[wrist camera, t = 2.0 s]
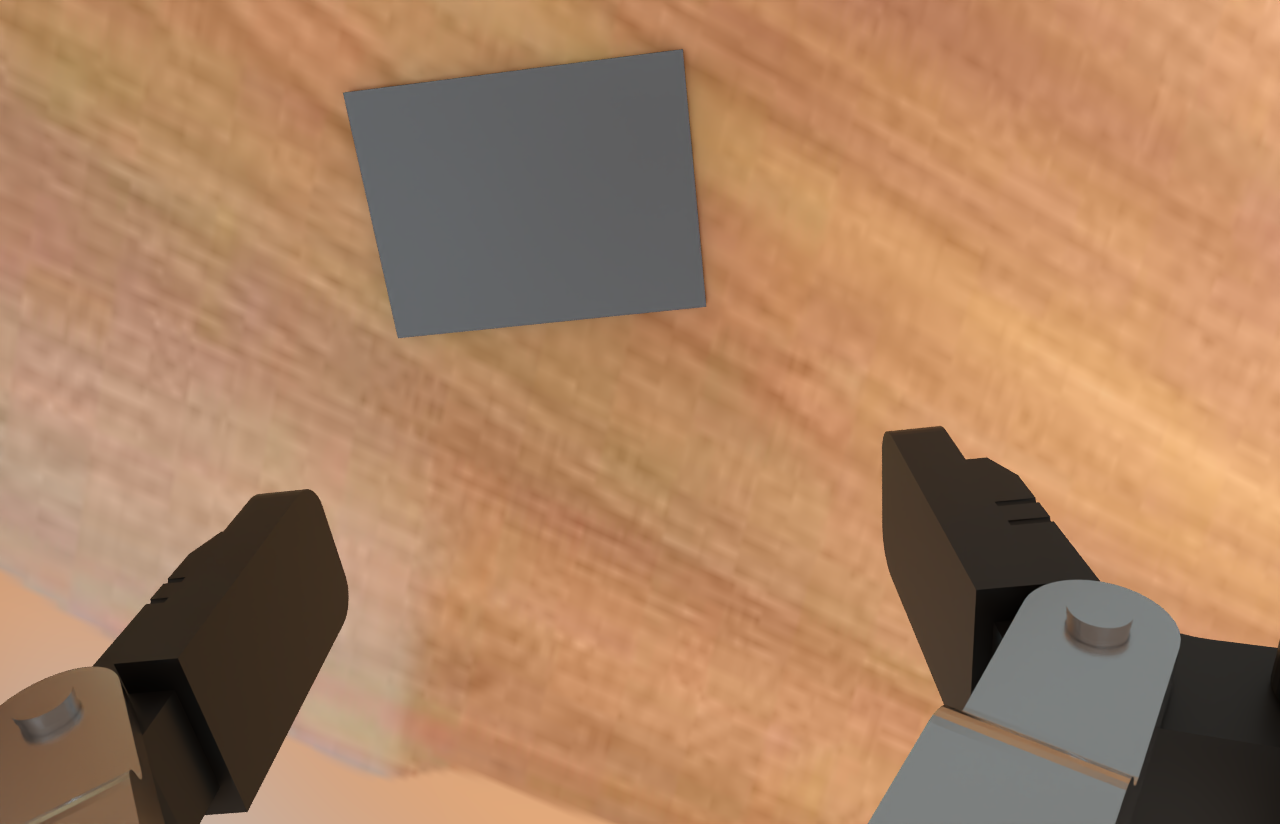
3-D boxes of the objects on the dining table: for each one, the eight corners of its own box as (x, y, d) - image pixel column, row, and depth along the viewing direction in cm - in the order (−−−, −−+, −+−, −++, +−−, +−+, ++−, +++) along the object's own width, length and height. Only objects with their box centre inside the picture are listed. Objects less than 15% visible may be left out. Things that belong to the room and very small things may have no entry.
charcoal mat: (402, 334, 34) (398, 338, 33) (349, 92, 31) (343, 92, 30) (705, 303, 33) (706, 306, 32) (682, 49, 30) (682, 49, 29)
